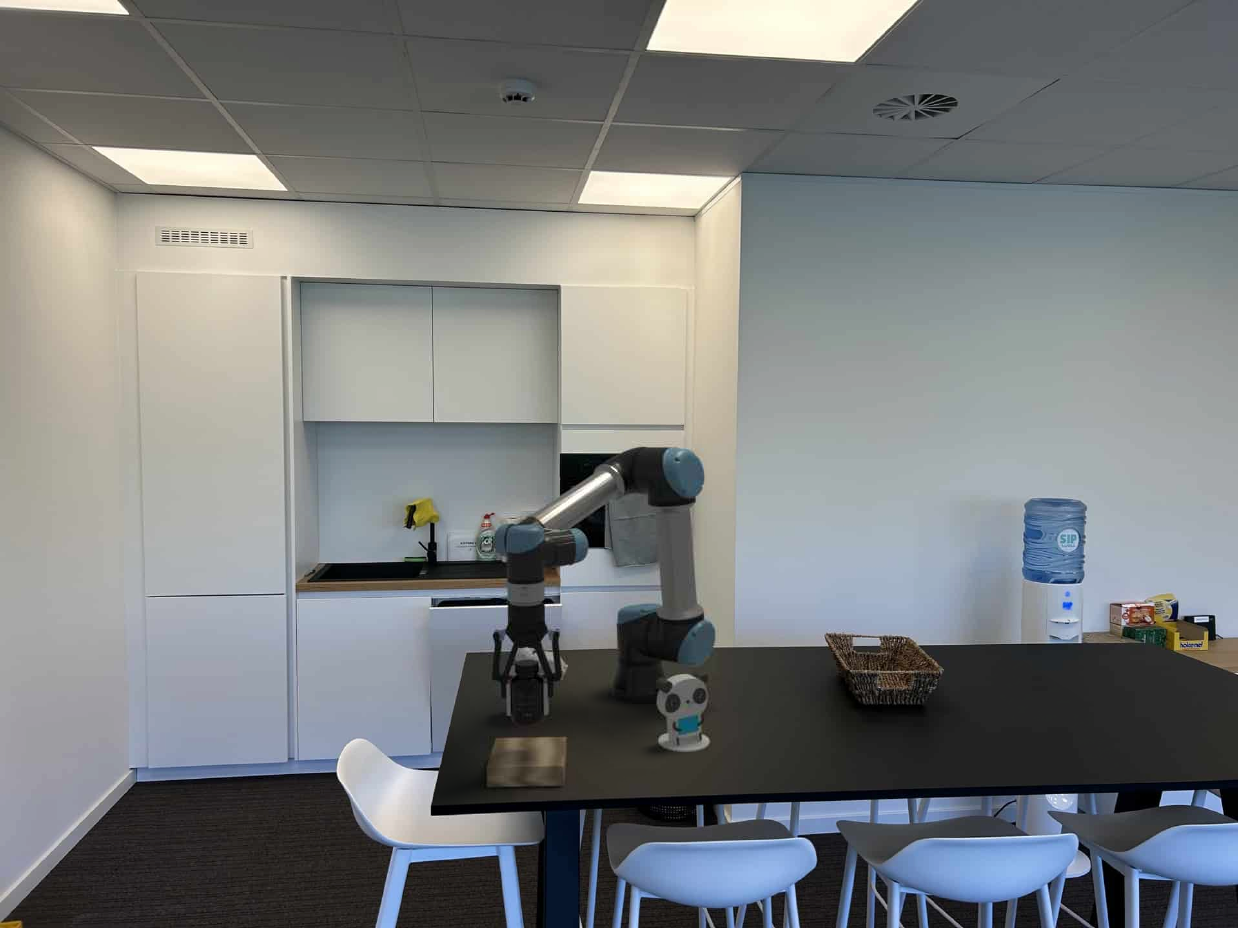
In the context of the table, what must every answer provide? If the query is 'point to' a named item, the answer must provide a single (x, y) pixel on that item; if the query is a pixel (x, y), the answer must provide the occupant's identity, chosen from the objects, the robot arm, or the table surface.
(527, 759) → the oak block
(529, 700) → the supplement bottle
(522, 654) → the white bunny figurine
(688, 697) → the disc-based toy figure
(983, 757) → the table surface
